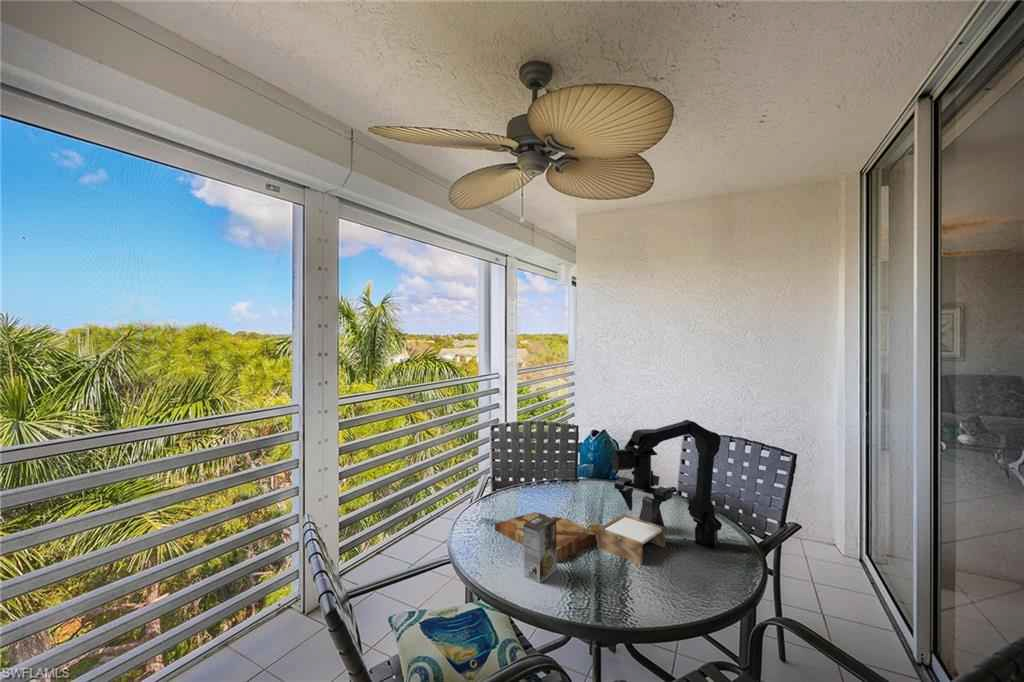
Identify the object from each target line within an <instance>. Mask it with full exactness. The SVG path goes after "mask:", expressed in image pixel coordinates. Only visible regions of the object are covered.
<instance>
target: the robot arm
mask: <svg viewBox="0 0 1024 682" xmlns="http://www.w3.org/2000/svg"><path fill="white" fill-rule="evenodd" d="M686 435H690V436H691V437H692V438H694V443H695V448H696V451H697V454H698V460H697V472H696V473H697V475H696V488H695V495H694V496H693V498H688V507H687V511H688V513H689V516H690V517H692V520H693V522H694V523H696V524H695V525H696V526H695V527H694V539H695V540H694V541H693V543H694V544H697V545H699V546H703V547H706V548H709V549H714V548H716V547H717V546H718V545H719V544H720V541H719V540H718V537H719V534H718V533H719V532H718V531H721V529H722V526H723V523H722V522H721V521H720V520H719V519H718V518H717V517H716V511H715V509H716V508H715V506H714V503H713V500H712V488H713V487H712V485H713V476H714V475H713V474H714V462H715V457H716V456H717V454H718V453H719V451H720V447H721V442H722V438H721V436H720V435H719V434H718V433H717V432H714V431H711V430H709V429H707V428H705V427H703V426H701V425H700V424H698V423H697V422H696V421H694V420H690V419H684V420H682V421H680V422H676V423H672V424H668V425H665V426H662V427H658V428H642V429H635V430H634V431H632V434H631V436H630V438H629V440H628V442H627V443H626V445H625V446H624V448H623V449H619V448H615V449H613V453H612V455H611V457H610V463H611V467H612V469H613V470H614V471H625V470H626V471H627V470H632V469H633V470H632V471H631V475H632V476H633V480H632V479H631V478H628V477H624V476H623V477H620V478H617V479H616V480H615V481H614V484H613V486H614V487H613V488H614V489H616V490H617V491H618V492H619V493H620V494H621V496H622V498H623V499H624V502H625V503H626V506H627V507H628V510H629V512H631V511H633V492H634V490H635V491H638V492H642V493H643V492H644V493H646V494H649V495H652V496H653V498H652V515H653V518H655V517H656V515H657V512H658V509H659V507H660V508H661V504H662V503H663V502H664V503H665V502H667V501H669V500H671V499H673V492H672V490H671V488H667V487H664V486H659V483H660V476H658V475H656V474H655V475H654V471H653V470H652V456H657V455H658V453H657V452H656V451H655V450H654V448H655V447H657V446H658V445H659V444H661V443H662V442H664V441H669V440H672V439H675V438H678V437H682V436H686ZM655 486H659V487H657V488H655ZM653 487H654V488H653Z"/></svg>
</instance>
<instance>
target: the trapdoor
mask: <svg viewBox="0 0 1024 682" xmlns="http://www.w3.org/2000/svg"><path fill="white" fill-rule="evenodd" d="M604 530H607V531H610V532H612V533H615V534H618V535H621V536H624V537H626V538H629V539H632V540H635V541H638V542H640V543H642V546H643V545H644V544H646V543H647V541H649V540H650V539H652V538H653V537H654V536H656V535H657V534H659V533H660V532H662V529H661V528H658V527H655V526H652V525H649V524H646V523H643V522H640V521H636V520H633V519H630V518H627V517H624V518H623V519H621V520H619V521H617V522H616V523H614V524H612V525H610V526H609V527H607V528H605V529H604Z"/></svg>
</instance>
